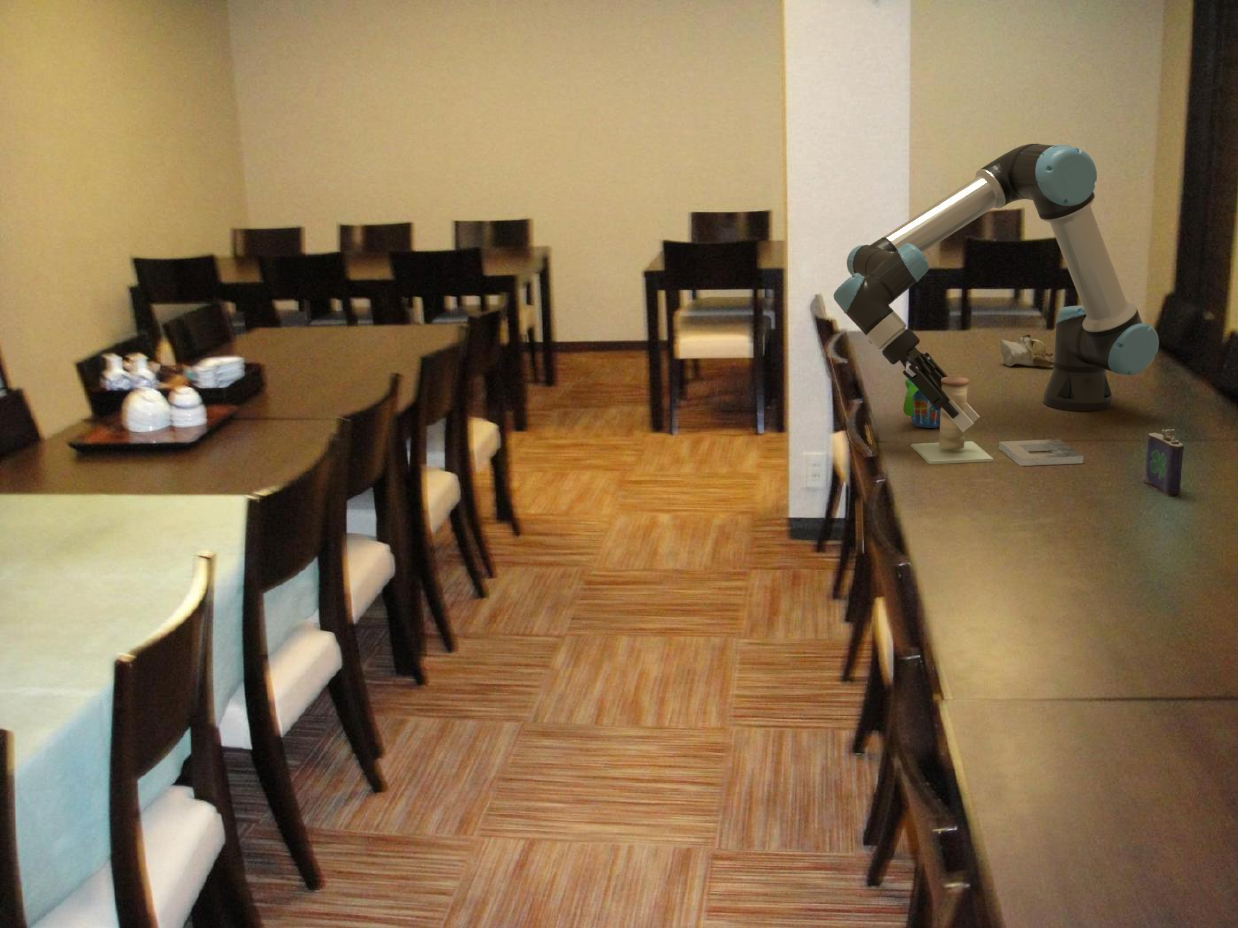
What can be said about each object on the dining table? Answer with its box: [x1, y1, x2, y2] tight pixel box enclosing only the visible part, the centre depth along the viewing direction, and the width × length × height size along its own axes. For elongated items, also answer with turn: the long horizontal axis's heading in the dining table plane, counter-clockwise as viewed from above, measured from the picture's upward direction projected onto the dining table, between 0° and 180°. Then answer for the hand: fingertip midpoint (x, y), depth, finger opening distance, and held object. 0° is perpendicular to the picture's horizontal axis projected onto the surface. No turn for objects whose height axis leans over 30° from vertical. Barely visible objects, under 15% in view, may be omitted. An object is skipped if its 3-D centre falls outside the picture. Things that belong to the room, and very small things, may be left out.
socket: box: [998, 438, 1084, 467], centre depth 260 cm, size 13×13×2 cm
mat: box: [911, 440, 994, 465], centre depth 263 cm, size 13×13×1 cm
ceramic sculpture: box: [1000, 334, 1054, 368], centre depth 338 cm, size 11×9×15 cm
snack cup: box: [902, 378, 941, 429], centre depth 284 cm, size 16×10×10 cm
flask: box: [1143, 428, 1185, 498], centre depth 236 cm, size 10×3×12 cm, turn 8°
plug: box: [938, 376, 970, 450], centre depth 261 cm, size 5×5×14 cm
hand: (971, 424), depth 260 cm, fingers closed on plug, 5 cm apart
